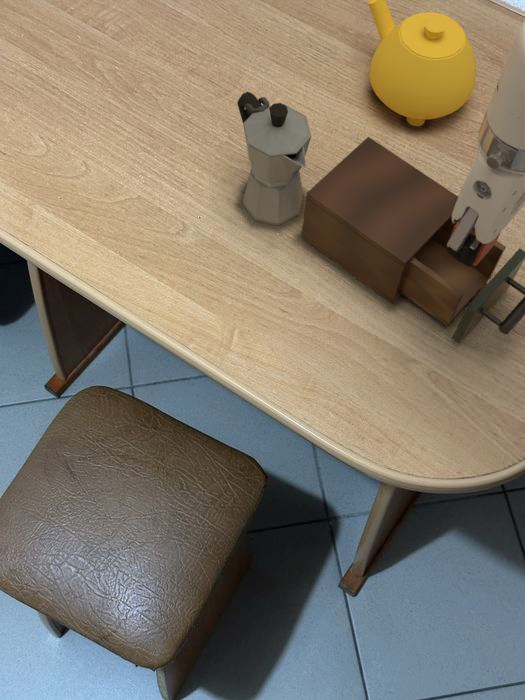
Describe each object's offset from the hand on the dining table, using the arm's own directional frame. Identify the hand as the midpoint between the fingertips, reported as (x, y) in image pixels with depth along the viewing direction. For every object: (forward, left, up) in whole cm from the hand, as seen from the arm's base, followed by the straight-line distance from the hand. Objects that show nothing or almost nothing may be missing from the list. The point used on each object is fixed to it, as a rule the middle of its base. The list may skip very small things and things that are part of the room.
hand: (471, 243), depth 94 cm
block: (0, 0, 0) cm, 0 cm away
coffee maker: (+30, 0, -18) cm, 35 cm away
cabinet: (+14, -4, -17) cm, 23 cm away
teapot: (+28, -30, -18) cm, 45 cm away
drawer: (+1, -4, -17) cm, 17 cm away
